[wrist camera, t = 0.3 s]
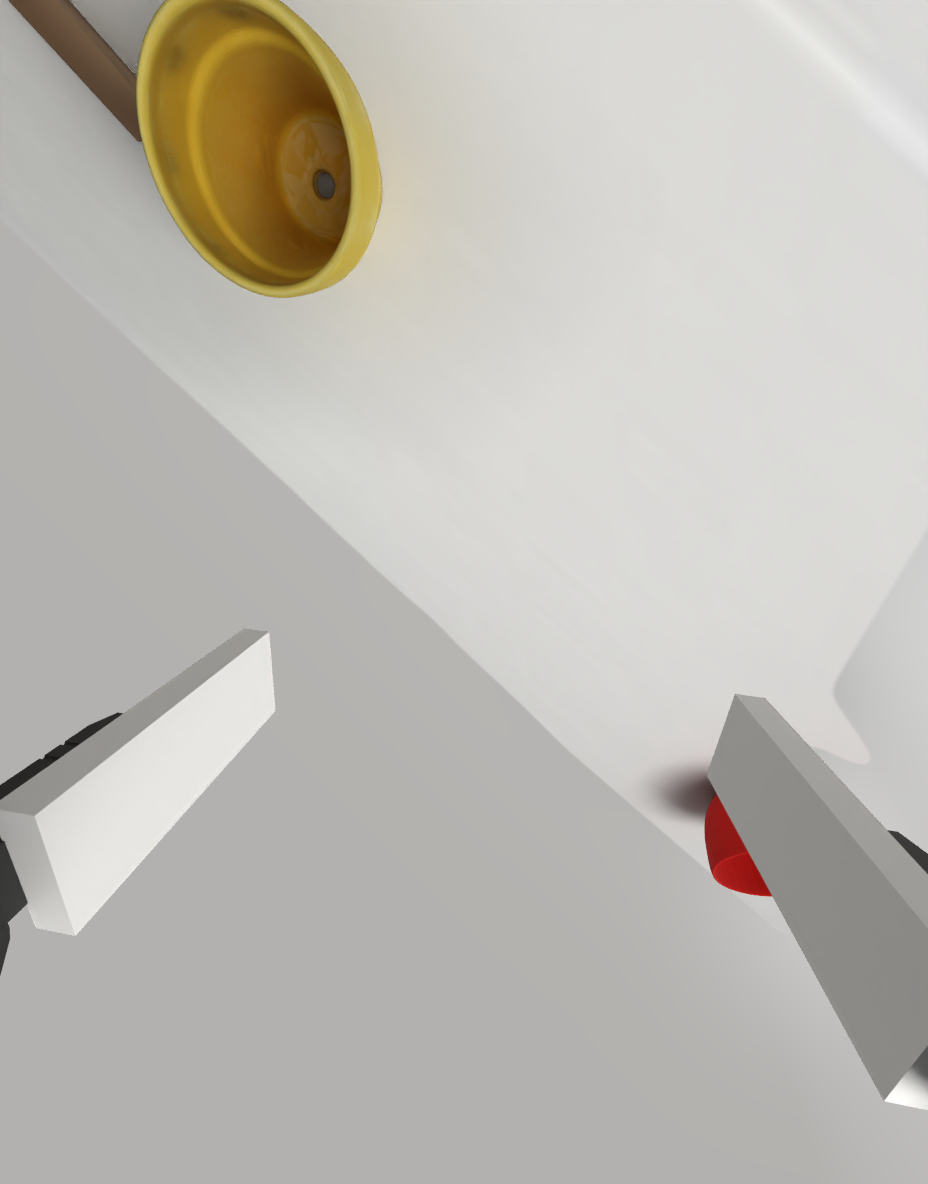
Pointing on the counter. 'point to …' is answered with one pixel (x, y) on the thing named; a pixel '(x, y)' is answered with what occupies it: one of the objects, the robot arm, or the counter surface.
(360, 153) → the plant pot
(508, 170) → the counter surface
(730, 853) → the ceramic cup
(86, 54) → the wooden plank
